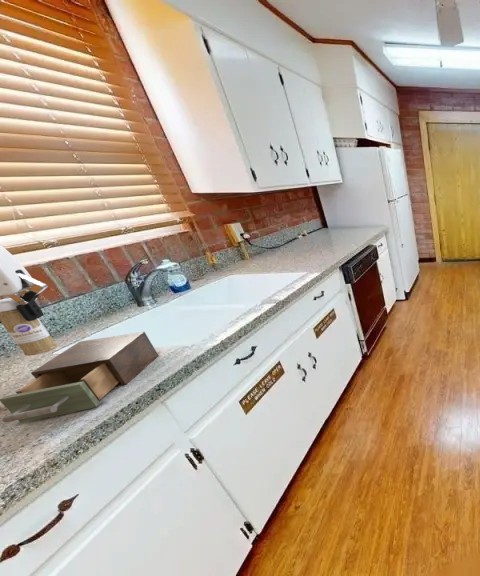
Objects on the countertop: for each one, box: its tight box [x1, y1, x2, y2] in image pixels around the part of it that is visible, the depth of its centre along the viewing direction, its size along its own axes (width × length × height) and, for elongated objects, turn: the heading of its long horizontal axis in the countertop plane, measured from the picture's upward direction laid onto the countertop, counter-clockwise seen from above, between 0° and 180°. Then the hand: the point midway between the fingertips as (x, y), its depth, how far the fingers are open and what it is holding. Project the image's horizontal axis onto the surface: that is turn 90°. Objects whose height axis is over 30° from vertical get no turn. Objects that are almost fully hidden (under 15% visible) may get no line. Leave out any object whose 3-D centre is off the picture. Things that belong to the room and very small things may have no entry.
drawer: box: [0, 362, 120, 424], centre depth 73 cm, size 18×12×7 cm
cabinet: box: [30, 331, 159, 388], centre depth 83 cm, size 15×14×9 cm
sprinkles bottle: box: [0, 297, 59, 357], centre depth 68 cm, size 5×5×14 cm
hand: (17, 319), depth 67 cm, fingers closed on sprinkles bottle, 4 cm apart
